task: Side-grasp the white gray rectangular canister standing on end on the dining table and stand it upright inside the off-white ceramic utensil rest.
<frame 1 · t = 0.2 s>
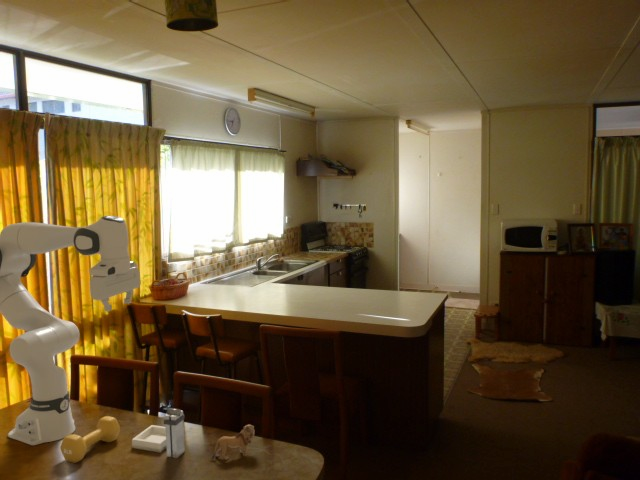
hand: (118, 306, 175), 48 cm above the table, tool pointing down, fingers open, 8 cm apart
lion figurine: (235, 455, 172), on the table
dumbbell: (92, 450, 177), on the table
white gray rectangular canister: (176, 453, 173), on the table
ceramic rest: (156, 442, 181), on the table
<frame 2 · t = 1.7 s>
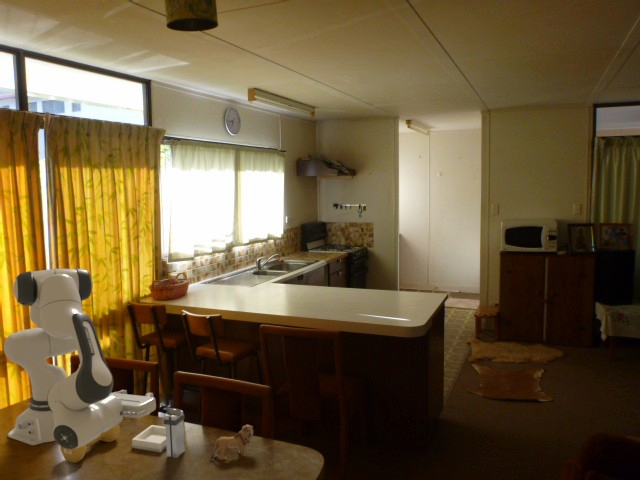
hand: (137, 393, 161), 24 cm above the table, tool horizontal, fingers open, 8 cm apart
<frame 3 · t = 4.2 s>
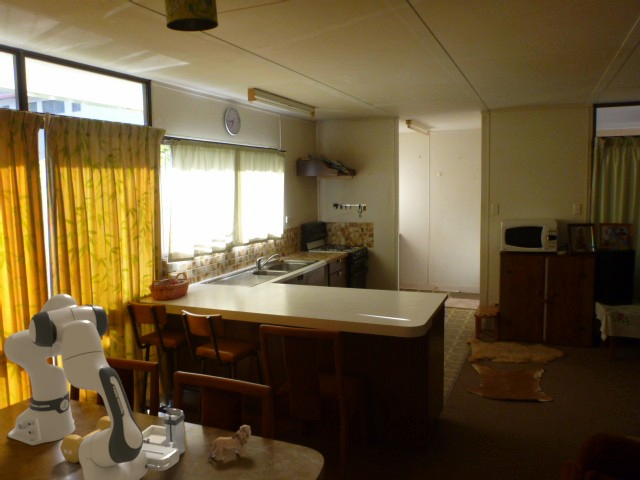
hand: (160, 442, 165), 8 cm above the table, tool horizontal, fingers open, 8 cm apart
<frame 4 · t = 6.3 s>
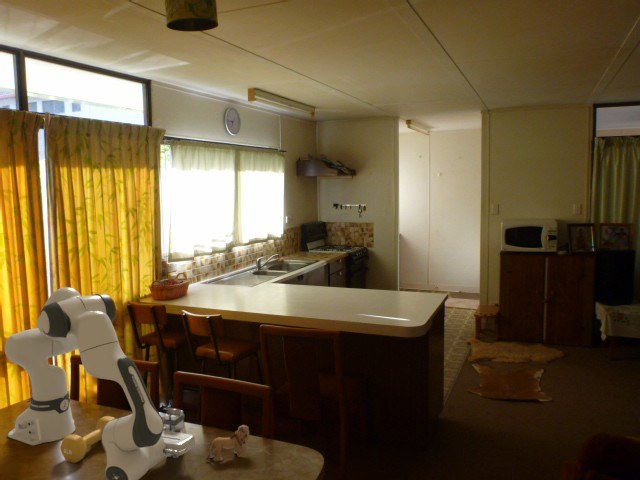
hand: (176, 429, 173), 8 cm above the table, tool horizontal, fingers closed on white gray rectangular canister, 4 cm apart
white gray rectangular canister: (176, 453, 173), on the table, touching gripper
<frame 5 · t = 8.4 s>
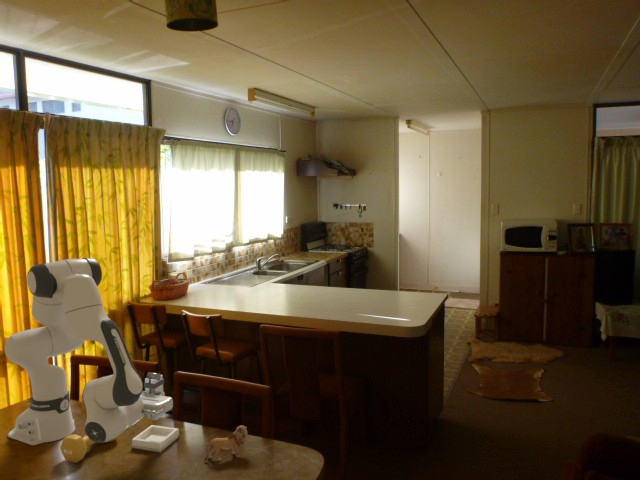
hand: (156, 392, 179), 17 cm above the table, tool horizontal, fingers closed on white gray rectangular canister, 4 cm apart
white gray rectangular canister: (155, 416, 179), point 9 cm above the table, touching gripper
when the fingers open (10 cm above the table, at t = 10.8 s): white gray rectangular canister stays where it is, resting on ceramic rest.
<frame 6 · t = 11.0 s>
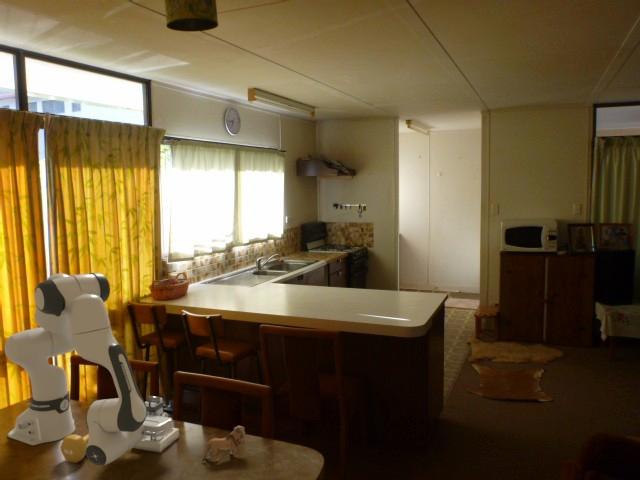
hand: (156, 413, 180), 10 cm above the table, tool horizontal, fingers open, 6 cm apart
white gray rectangular canister: (155, 439, 181), point 1 cm above the table, touching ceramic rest
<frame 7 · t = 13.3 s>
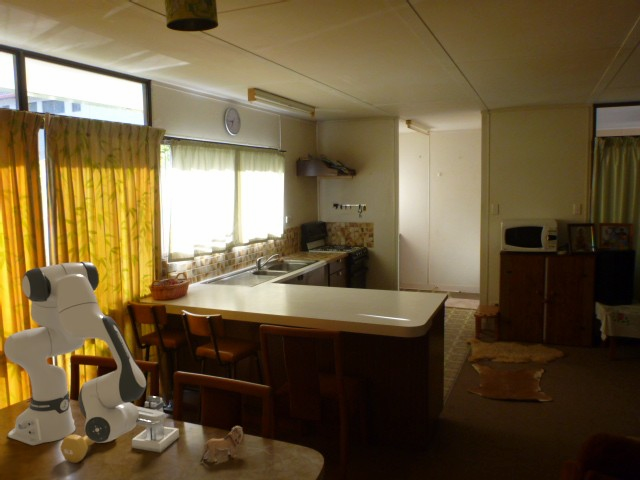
hand: (141, 408, 172), 15 cm above the table, tool horizontal, fingers open, 8 cm apart
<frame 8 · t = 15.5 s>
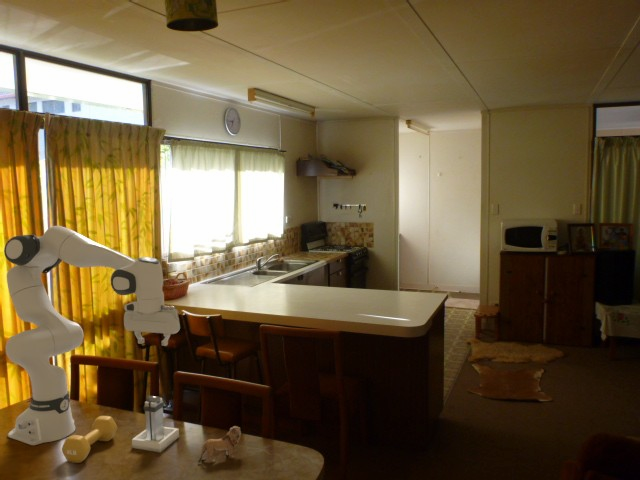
hand: (153, 344, 182), 33 cm above the table, tool pointing down, fingers open, 8 cm apart
at the end: white gray rectangular canister inside the target area on the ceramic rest (0.1 cm from its centre), point 1.0 cm above the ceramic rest's base; white gray rectangular canister tilted 0°; the gripper is holding nothing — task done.
